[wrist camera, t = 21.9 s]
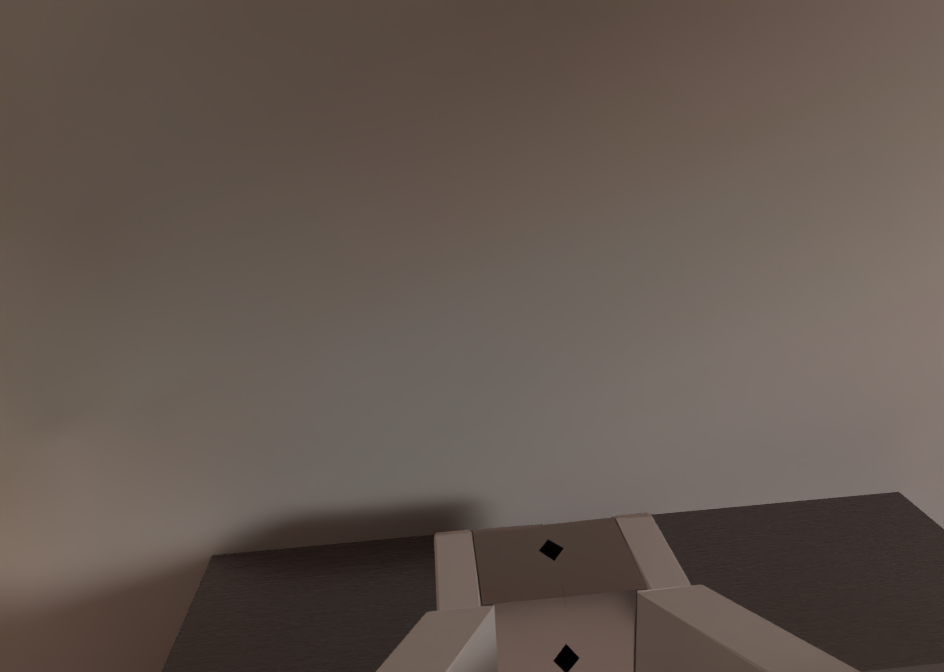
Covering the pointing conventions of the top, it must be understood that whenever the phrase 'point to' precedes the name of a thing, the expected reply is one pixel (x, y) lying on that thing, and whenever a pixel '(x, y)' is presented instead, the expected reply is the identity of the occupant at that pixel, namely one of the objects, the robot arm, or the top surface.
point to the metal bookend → (413, 558)
